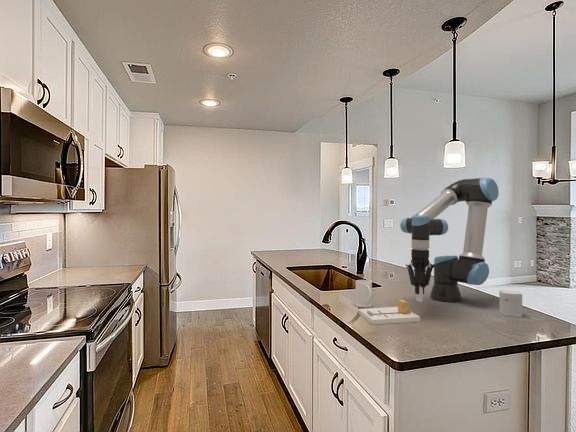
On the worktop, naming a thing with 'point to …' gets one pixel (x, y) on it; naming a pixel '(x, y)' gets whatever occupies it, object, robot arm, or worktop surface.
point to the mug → (363, 293)
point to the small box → (510, 303)
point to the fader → (402, 306)
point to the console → (387, 315)
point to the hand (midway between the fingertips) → (419, 301)
